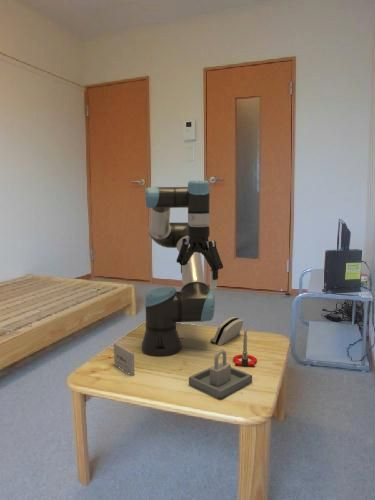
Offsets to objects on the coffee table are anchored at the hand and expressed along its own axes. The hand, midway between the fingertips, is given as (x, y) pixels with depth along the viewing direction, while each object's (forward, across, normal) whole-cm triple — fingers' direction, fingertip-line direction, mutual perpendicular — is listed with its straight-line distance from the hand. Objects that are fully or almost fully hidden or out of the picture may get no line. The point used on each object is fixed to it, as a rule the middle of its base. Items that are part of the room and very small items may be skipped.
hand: (198, 285), depth 140 cm
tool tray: (+26, +19, -10) cm, 34 cm away
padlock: (+26, +19, -10) cm, 34 cm away
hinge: (+27, -4, +22) cm, 35 cm away
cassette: (+27, -11, -25) cm, 38 cm away
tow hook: (+27, +14, +9) cm, 32 cm away
